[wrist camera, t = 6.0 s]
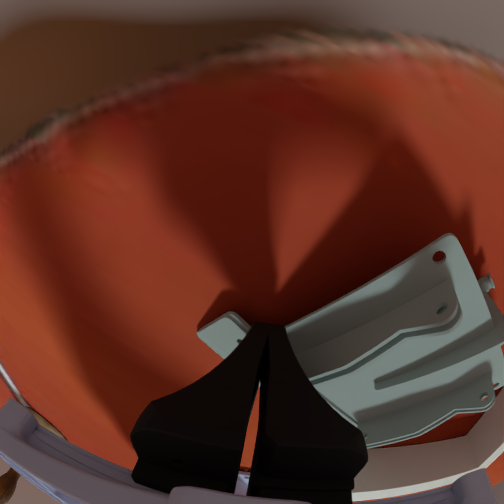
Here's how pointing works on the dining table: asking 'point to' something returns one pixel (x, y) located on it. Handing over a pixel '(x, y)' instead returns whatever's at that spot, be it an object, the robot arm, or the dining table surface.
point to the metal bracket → (398, 346)
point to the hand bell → (6, 484)
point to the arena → (432, 460)
